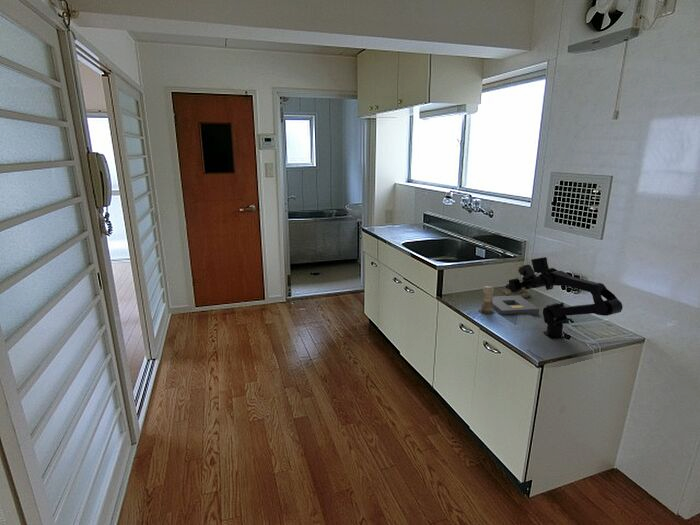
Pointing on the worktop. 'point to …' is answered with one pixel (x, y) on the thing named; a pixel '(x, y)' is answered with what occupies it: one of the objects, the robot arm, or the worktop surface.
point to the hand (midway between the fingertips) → (512, 285)
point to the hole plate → (519, 307)
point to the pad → (486, 313)
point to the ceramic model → (521, 293)
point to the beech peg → (487, 299)
